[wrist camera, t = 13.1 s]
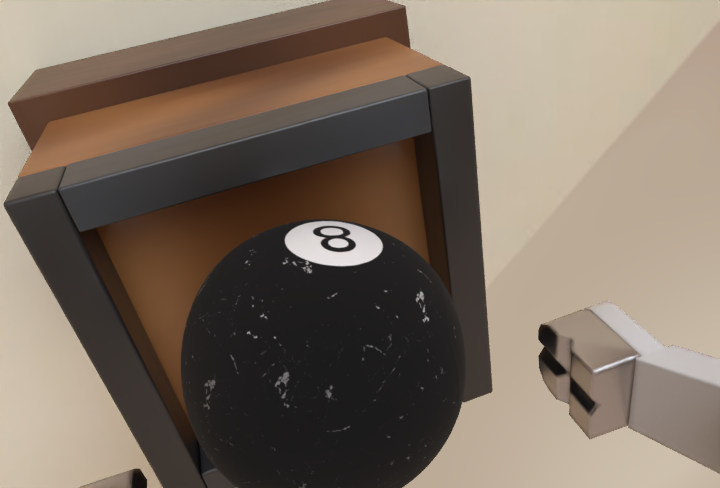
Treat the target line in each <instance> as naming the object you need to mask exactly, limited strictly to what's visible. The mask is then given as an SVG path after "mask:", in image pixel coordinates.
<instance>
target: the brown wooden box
mask: <svg viewBox="0 0 720 488" xmlns="http://www.w3.org/2000/svg"><path fill="white" fill-rule="evenodd" d="M8 105H9V107H10V109H11V111H12V113H13V115H14V117H15V119H16V121H17V123H18V125H19V127H20V129H21V131H22V133H23V135H24V137H25V139H26V141H27V143H28V145H29V147H30V148H31V150H32V152H31V154H30V156H29V158H28V160H27V161H26V163H25V165H24V167H23V169H22V170H21V172H20V174H19V176H18V179H17V180H16V182H15V184H14V186H13V188H12V189H11V191H10V193H9V195H8V197H7V198H6V200H5V202H4V208H5V209H6V211H7V213H8V215H9V216H10V218H11V220H12V222H13V224H14V225H15V227H16V229H17V231H18V232H19V234H20V236H21V238H22V239H23V241H24V243H25V245H26V246H27V248H28V250H29V252H30V254H31V255H32V257H33V259H34V261H35V262H36V264H37V266H38V268H39V269H40V271H41V273H42V275H43V276H44V278H45V280H46V282H47V284H48V285H49V287H50V289H51V291H52V292H53V294H54V296H55V298H56V299H57V301H58V303H59V305H60V306H61V308H62V310H63V312H64V314H65V315H66V317H67V319H68V321H69V322H70V324H71V326H72V328H73V329H74V331H75V333H76V335H77V337H78V338H79V340H80V342H81V344H82V345H83V347H84V349H85V351H86V352H87V354H88V356H89V358H90V359H91V361H92V363H93V365H94V367H95V368H96V370H97V372H98V374H99V375H100V377H101V379H102V381H103V382H104V384H105V386H106V388H107V389H108V391H109V393H110V395H111V397H112V398H113V400H114V402H115V404H116V405H117V407H118V409H119V411H120V412H121V414H122V416H123V418H124V420H125V421H126V423H127V425H128V427H129V428H130V430H131V432H132V434H133V435H134V437H135V439H136V441H137V442H138V444H139V446H140V448H141V450H142V451H143V453H144V455H145V457H146V458H147V460H148V462H149V464H150V465H151V467H152V469H153V471H154V472H155V474H156V476H157V478H158V480H159V481H160V483H161V485H162V487H163V488H237V487H236V486H234V485H233V484H232V483H230V482H229V481H228V480H227V479H226V478H225V477H224V476H223V475H222V474H221V473H220V472H219V471H218V470H217V468H216V467H215V466H214V465H213V463H212V462H211V461H210V459H209V458H208V457H207V455H206V454H205V452H204V450H203V449H202V447H201V445H200V443H199V441H198V440H197V438H196V435H195V433H194V431H193V428H192V426H191V423H190V420H189V418H188V414H187V410H186V406H185V402H184V398H183V390H182V381H181V349H182V341H183V335H184V330H185V325H186V321H187V318H188V315H189V312H190V309H191V307H192V304H193V301H194V299H195V297H196V295H197V293H198V291H199V289H200V288H201V286H202V284H203V283H204V281H205V279H206V278H207V276H208V275H209V274H210V273H211V271H212V270H213V269H214V267H215V266H216V265H217V264H218V263H219V262H220V261H221V260H222V259H223V258H224V257H225V256H226V255H227V254H228V253H229V252H231V251H232V250H233V249H234V248H236V247H237V246H239V245H240V244H242V243H243V242H244V241H246V240H248V239H250V238H251V237H253V236H255V235H257V234H259V233H262V232H264V231H266V230H269V229H271V228H274V227H277V226H280V225H284V224H288V223H291V222H297V221H303V220H313V219H331V220H341V221H348V222H353V223H358V224H362V225H366V226H369V227H372V228H375V229H377V230H380V231H382V232H385V233H387V234H389V235H391V236H393V237H395V238H397V239H398V240H400V241H402V242H403V243H405V244H406V245H408V246H409V247H411V248H412V249H413V250H414V251H416V252H417V253H418V254H419V255H420V256H421V257H422V258H424V259H425V260H426V261H427V262H428V263H429V265H430V266H431V267H432V268H433V269H434V271H435V272H436V273H437V274H438V276H439V277H440V279H441V280H442V282H443V284H444V285H445V287H446V289H447V290H448V292H449V294H450V296H451V298H452V301H453V303H454V306H455V308H456V311H457V314H458V317H459V320H460V324H461V328H462V332H463V337H464V344H465V353H466V378H465V389H464V395H463V400H462V402H467V401H469V400H472V399H474V398H477V397H480V396H483V395H485V394H488V393H491V392H492V378H491V363H490V349H489V335H488V321H487V308H486V292H485V278H484V264H483V249H482V235H481V221H480V207H479V192H478V178H477V164H476V150H475V136H474V121H473V107H472V93H471V79H470V77H469V76H467V75H465V74H462V73H460V72H458V71H456V70H454V69H452V68H450V67H448V66H446V65H443V64H441V63H439V62H437V61H435V60H433V59H431V58H429V57H427V56H425V55H423V54H421V53H419V52H416V51H414V50H412V49H411V48H410V40H409V31H408V23H407V15H406V7H405V6H403V5H400V4H397V3H394V2H391V1H388V0H330V1H326V2H322V3H318V4H313V5H309V6H305V7H301V8H296V9H292V10H288V11H284V12H280V13H275V14H271V15H267V16H263V17H258V18H254V19H250V20H246V21H241V22H237V23H233V24H229V25H225V26H220V27H216V28H212V29H208V30H203V31H199V32H195V33H191V34H187V35H182V36H178V37H174V38H170V39H165V40H161V41H157V42H153V43H148V44H144V45H140V46H136V47H132V48H127V49H123V50H119V51H115V52H110V53H106V54H102V55H98V56H93V57H89V58H85V59H81V60H77V61H72V62H68V63H64V64H60V65H55V66H51V67H47V68H43V69H39V70H36V71H34V73H33V74H32V75H31V76H30V77H29V79H28V80H27V81H26V82H25V83H24V84H23V86H22V87H21V88H20V89H19V90H18V92H17V93H16V94H15V95H14V96H13V97H12V99H11V100H10V101H9V102H8Z"/></svg>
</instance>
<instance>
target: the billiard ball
mask: <svg viewBox="0 0 720 488" xmlns="http://www.w3.org/2000/svg"><path fill="white" fill-rule="evenodd" d="M465 378H466V353H465V344H464V337H463V332H462V328H461V324H460V320H459V317H458V314H457V311H456V308H455V306H454V303H453V301H452V298H451V296H450V294H449V292H448V290H447V289H446V287H445V285H444V284H443V282H442V280H441V279H440V277H439V276H438V274H437V273H436V272H435V271H434V269H433V268H432V267H431V266H430V265H429V263H428V262H427V261H426V260H425V259H424V258H422V257H421V256H420V255H419V254H418V253H417V252H416V251H414V250H413V249H412V248H411V247H409V246H408V245H406V244H405V243H403V242H402V241H400V240H398V239H397V238H395V237H393V236H391V235H389V234H387V233H385V232H382V231H380V230H377V229H375V228H372V227H369V226H366V225H362V224H358V223H353V222H348V221H341V220H331V219H313V220H303V221H297V222H291V223H288V224H284V225H280V226H277V227H274V228H271V229H269V230H266V231H264V232H262V233H259V234H257V235H255V236H253V237H251V238H250V239H248V240H246V241H244V242H243V243H242V244H240V245H239V246H237V247H236V248H234V249H233V250H232V251H231V252H229V253H228V254H227V255H226V256H225V257H224V258H223V259H222V260H221V261H220V262H219V263H218V264H217V265H216V266H215V267H214V269H213V270H212V271H211V273H210V274H209V275H208V276H207V278H206V279H205V281H204V283H203V284H202V286H201V288H200V289H199V291H198V293H197V295H196V297H195V299H194V301H193V304H192V307H191V309H190V312H189V315H188V318H187V321H186V325H185V330H184V335H183V341H182V349H181V381H182V390H183V398H184V402H185V406H186V410H187V414H188V418H189V420H190V423H191V426H192V428H193V431H194V433H195V435H196V438H197V440H198V441H199V443H200V445H201V447H202V449H203V450H204V452H205V454H206V455H207V457H208V458H209V459H210V461H211V462H212V463H213V465H214V466H215V467H216V468H217V470H218V471H219V472H220V473H221V474H222V475H223V476H224V477H225V478H226V479H227V480H228V481H229V482H230V483H232V484H233V485H234V486H236V487H237V488H402V487H404V486H405V485H406V484H408V483H409V482H410V481H412V480H413V479H414V478H415V477H416V476H418V475H419V474H420V473H421V472H422V471H423V470H424V469H425V468H426V467H427V466H428V465H429V464H430V463H431V461H432V460H433V459H434V458H435V457H436V455H437V454H438V453H439V451H440V450H441V448H442V447H443V445H444V444H445V442H446V441H447V439H448V437H449V435H450V434H451V431H452V429H453V427H454V424H455V422H456V419H457V417H458V415H459V411H460V408H461V404H462V400H463V395H464V389H465Z"/></svg>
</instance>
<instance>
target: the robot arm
mask: <svg viewBox="0 0 720 488" xmlns="http://www.w3.org/2000/svg"><path fill="white" fill-rule="evenodd" d="M538 338H539V341H540V342H541V343H542V344H543V345H544V346H545V347H544V348H543V350H542V351H541V353H540V355H539V368H540V371H541V374H542V377H543V380H544V382H545V384H546V386H547V387H548V389H549V390H550V392H551V393H552V394H553V396H554V397H555V398H556V399H558V400H560V401H563V402H565V403H568V404H569V407H570V408H569V415H570V416H571V417H572V419H573V420H574V421H575V422H576V423H577V425H578V426H579V427H580V428H581V429H582V431H583V432H584V433H585V434H586V435H587V436H588V438H589V439H592V438H594V437H597V436H600V435H603V434H605V433H608V432H611V431H614V430H617V429H619V428H622V427H625V426H628V425H629V428H630V429H632V430H634V431H636V432H638V433H640V434H642V435H644V436H646V437H648V438H650V439H652V440H654V441H656V442H658V443H660V444H662V445H664V446H666V447H668V448H670V449H672V450H674V451H676V452H678V453H680V454H682V455H684V456H686V457H688V458H690V459H692V460H694V461H696V462H698V463H700V464H702V465H704V466H706V467H708V468H710V469H712V470H714V471H716V472H717V473H720V359H719V358H716V357H712V356H709V355H705V354H702V353H699V352H695V351H691V350H688V349H685V348H681V347H678V346H674V345H671V346H668V347H665V346H664V345H663V344H662V343H661V342H659V341H658V340H657V339H655V337H653V336H652V335H651V334H650V333H648V332H647V331H646V330H645V329H644V328H642V327H641V326H640V325H639V324H638V323H636V322H635V321H634V320H633V319H632V318H630V317H629V316H628V315H627V314H626V313H624V312H623V311H622V310H621V309H620V308H618V307H617V306H616V305H615V304H613V303H612V302H609V301H604V302H602V303H599V304H596V305H593V306H591V307H588V308H585V309H584V310H580V311H577V312H574V313H571V314H569V315H566V316H563V317H560V318H558V319H555V320H552V321H550V322H547V323H544V324H541V326H540V328H539V336H538ZM80 488H147V479H146V478H145V476H144V475H143V473H142V472H141V470H140V469H133V470H130V471H127V472H124V473H121V474H117V475H114V476H111V477H108V478H105V479H102V480H99V481H96V482H93V483H90V484H87V485H84V486H81V487H80Z"/></svg>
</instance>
